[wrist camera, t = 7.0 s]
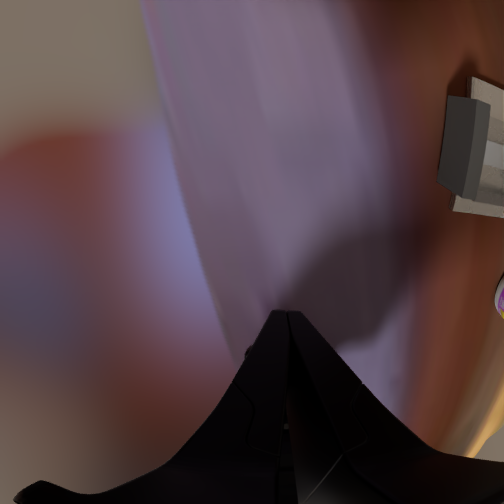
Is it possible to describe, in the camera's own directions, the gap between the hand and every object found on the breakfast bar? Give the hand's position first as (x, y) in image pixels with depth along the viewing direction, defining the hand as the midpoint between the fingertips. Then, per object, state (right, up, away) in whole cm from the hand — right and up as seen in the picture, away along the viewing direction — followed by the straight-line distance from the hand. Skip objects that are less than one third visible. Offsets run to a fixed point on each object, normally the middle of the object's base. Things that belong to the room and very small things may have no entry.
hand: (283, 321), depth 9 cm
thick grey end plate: (+18, +10, +7) cm, 22 cm away
